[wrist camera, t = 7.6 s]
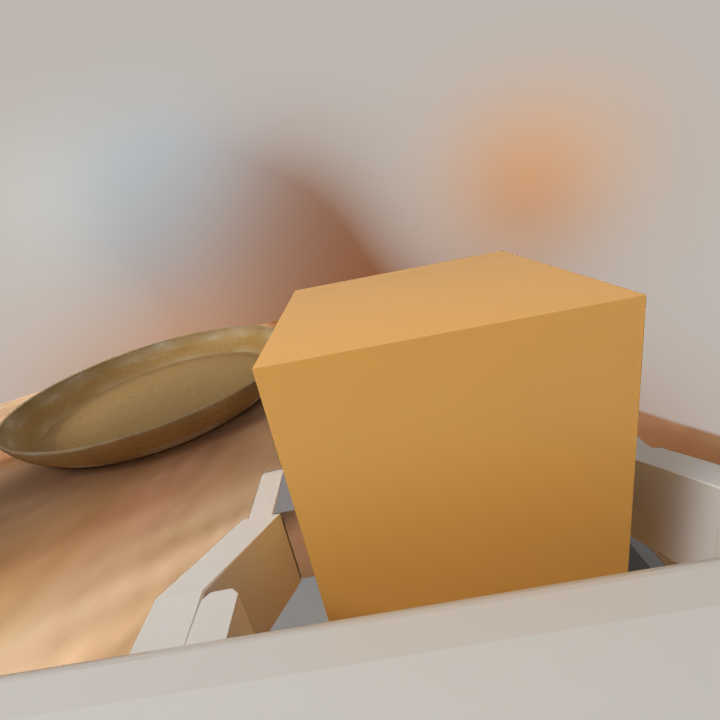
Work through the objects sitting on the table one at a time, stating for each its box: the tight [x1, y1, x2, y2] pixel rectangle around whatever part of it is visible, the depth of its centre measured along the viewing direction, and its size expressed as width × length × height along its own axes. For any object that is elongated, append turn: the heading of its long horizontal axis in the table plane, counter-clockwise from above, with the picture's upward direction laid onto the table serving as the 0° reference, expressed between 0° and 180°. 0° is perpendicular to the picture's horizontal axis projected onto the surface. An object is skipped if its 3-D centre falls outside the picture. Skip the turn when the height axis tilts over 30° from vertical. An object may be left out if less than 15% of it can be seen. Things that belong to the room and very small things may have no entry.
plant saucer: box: [0, 326, 274, 468], centre depth 37 cm, size 24×24×3 cm
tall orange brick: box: [252, 251, 646, 621], centre depth 9 cm, size 5×5×10 cm
